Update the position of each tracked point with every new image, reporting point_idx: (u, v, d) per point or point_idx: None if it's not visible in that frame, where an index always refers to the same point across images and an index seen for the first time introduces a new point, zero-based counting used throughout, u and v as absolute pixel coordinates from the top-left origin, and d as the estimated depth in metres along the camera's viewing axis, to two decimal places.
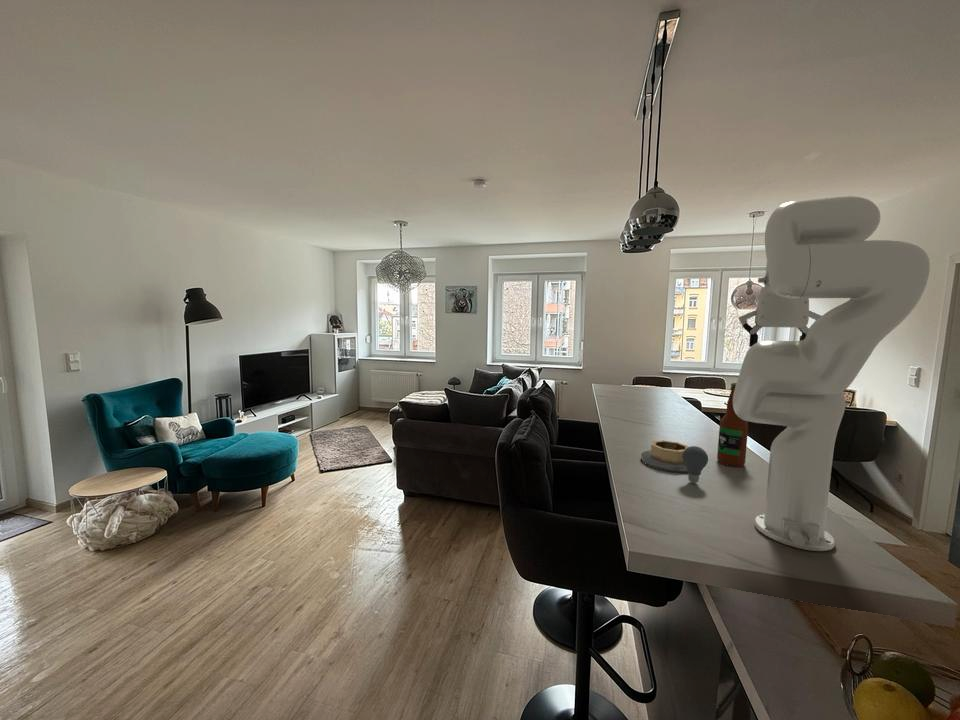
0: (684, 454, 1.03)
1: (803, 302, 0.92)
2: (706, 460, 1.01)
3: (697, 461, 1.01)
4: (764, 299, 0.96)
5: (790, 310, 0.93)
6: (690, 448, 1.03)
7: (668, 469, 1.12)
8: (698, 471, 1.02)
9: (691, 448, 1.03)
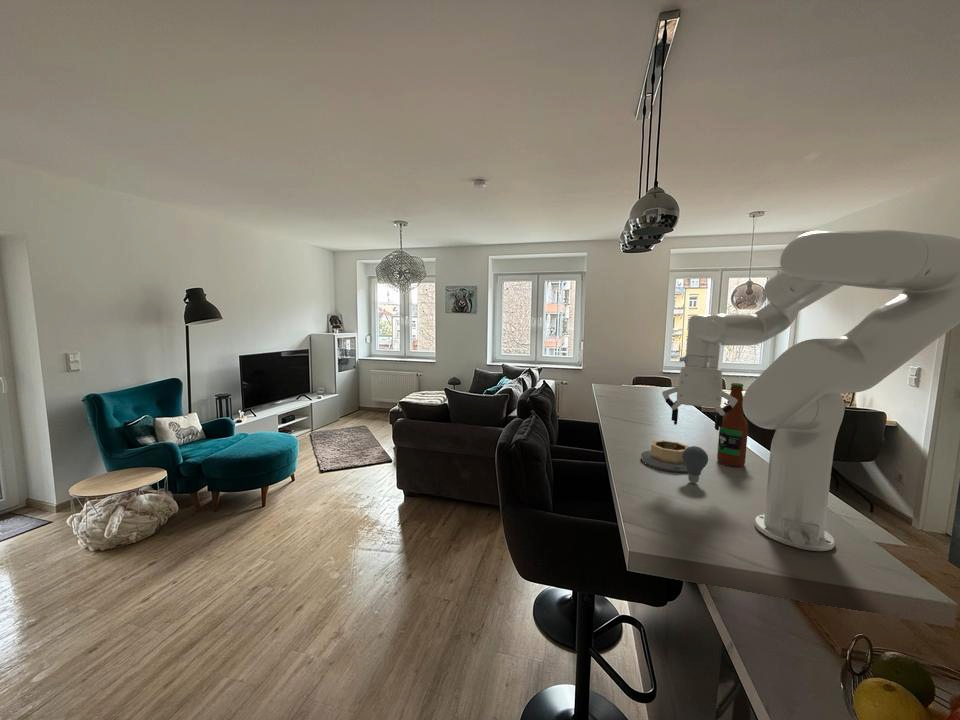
0: (684, 454, 1.03)
1: (716, 385, 0.98)
2: (706, 460, 1.01)
3: (697, 461, 1.01)
4: (683, 379, 1.01)
5: (705, 391, 0.99)
6: (690, 448, 1.03)
7: (668, 469, 1.12)
8: (698, 471, 1.02)
9: (691, 448, 1.03)
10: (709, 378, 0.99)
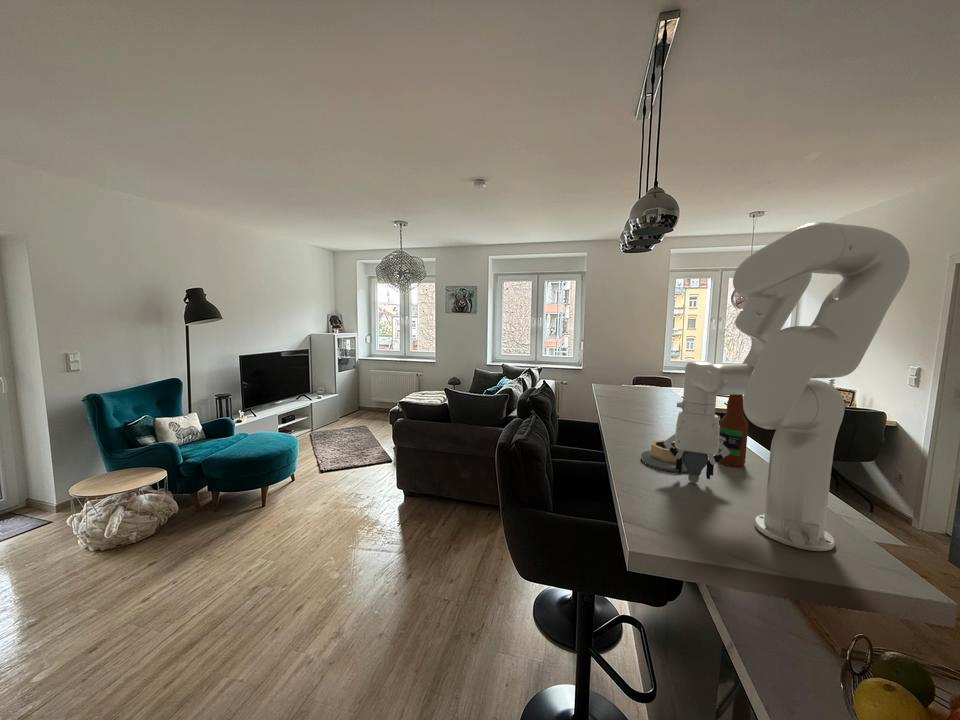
0: (684, 454, 1.03)
1: (714, 432, 0.99)
2: (706, 460, 1.01)
3: (697, 461, 1.01)
4: (680, 425, 1.02)
5: (702, 438, 1.00)
6: None
7: (668, 469, 1.12)
8: (698, 471, 1.02)
9: None
10: (706, 425, 0.99)
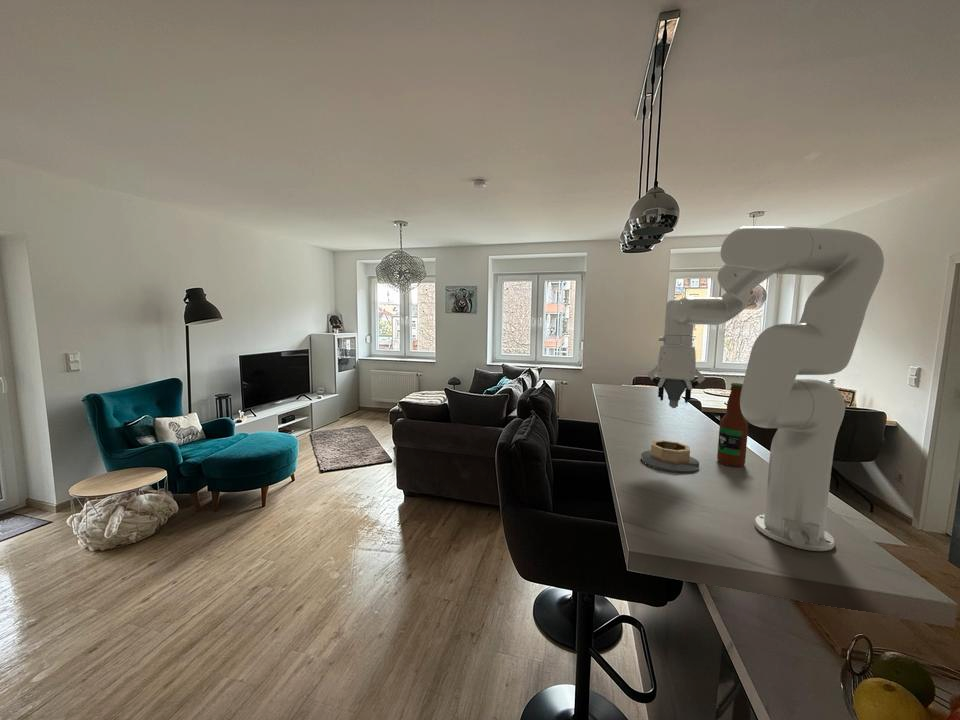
0: (665, 382, 1.17)
1: (690, 360, 1.12)
2: (684, 386, 1.14)
3: (676, 386, 1.14)
4: (662, 356, 1.16)
5: (681, 366, 1.13)
6: None
7: (668, 469, 1.12)
8: (677, 396, 1.15)
9: None
10: (684, 354, 1.13)
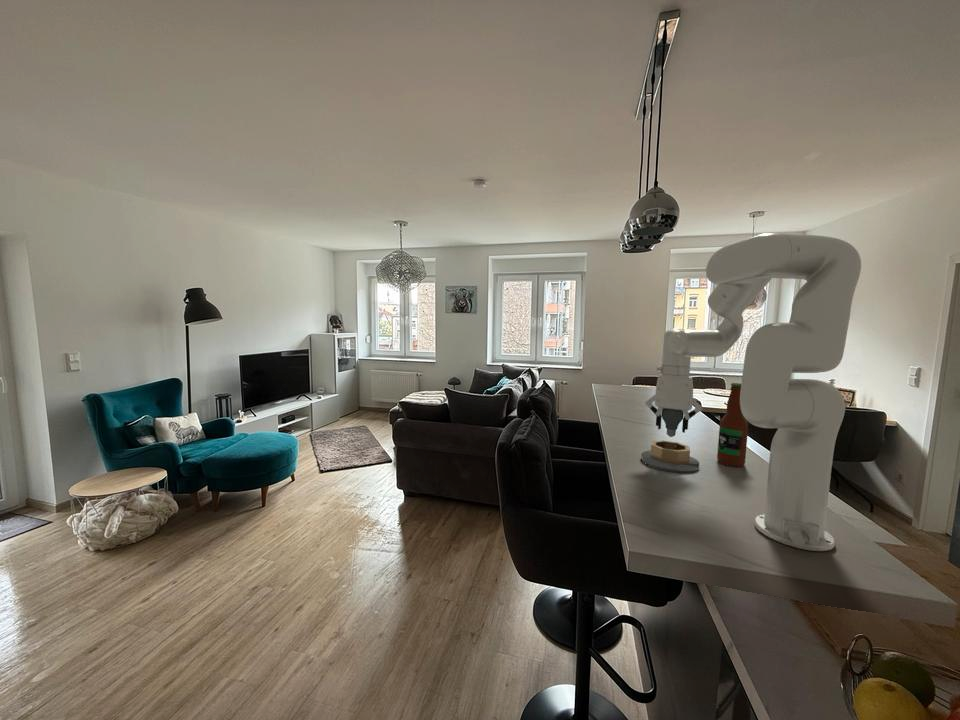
0: (663, 411, 1.18)
1: (688, 391, 1.13)
2: (681, 416, 1.16)
3: (674, 416, 1.15)
4: (659, 386, 1.17)
5: (678, 396, 1.14)
6: None
7: (668, 469, 1.12)
8: (675, 425, 1.17)
9: None
10: (681, 385, 1.14)
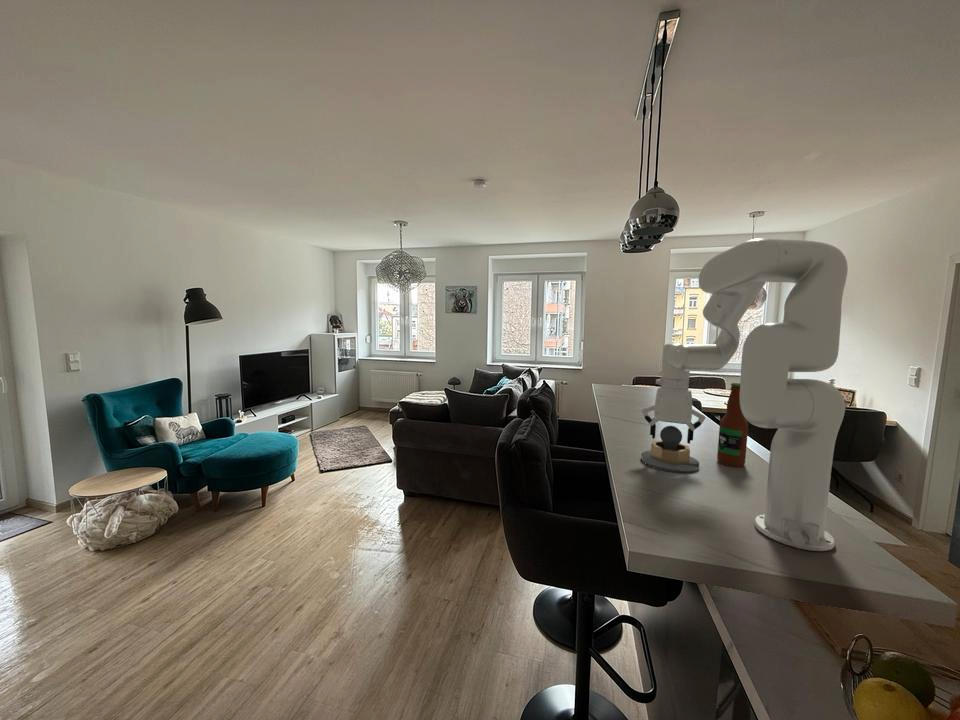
0: (661, 432, 1.19)
1: (687, 404, 1.14)
2: (680, 437, 1.16)
3: (672, 437, 1.16)
4: (658, 399, 1.17)
5: (677, 410, 1.15)
6: (666, 427, 1.18)
7: (668, 469, 1.12)
8: (674, 447, 1.17)
9: (667, 427, 1.18)
10: (681, 398, 1.14)
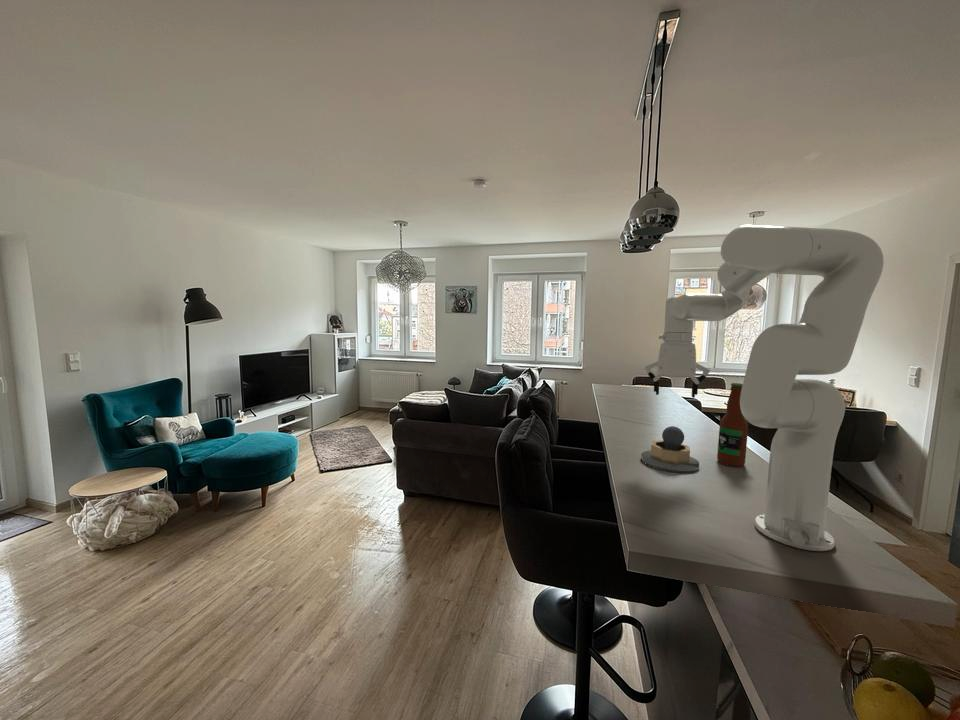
0: (664, 433, 1.18)
1: (691, 357, 1.12)
2: (682, 438, 1.16)
3: (674, 439, 1.15)
4: (662, 353, 1.16)
5: (681, 363, 1.13)
6: (669, 428, 1.18)
7: (668, 469, 1.12)
8: (675, 448, 1.17)
9: (670, 428, 1.17)
10: (684, 351, 1.13)
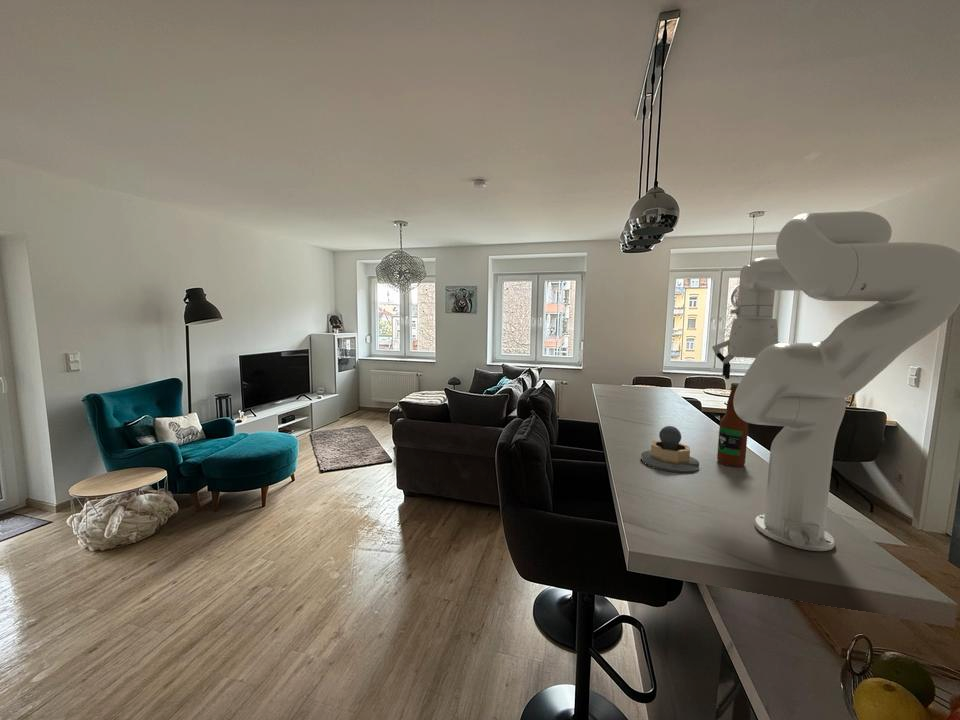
0: (660, 433, 1.18)
1: (772, 334, 0.95)
2: (679, 437, 1.16)
3: (671, 438, 1.16)
4: (736, 330, 0.99)
5: (760, 342, 0.96)
6: (665, 428, 1.18)
7: (668, 469, 1.12)
8: (673, 447, 1.17)
9: (666, 427, 1.18)
10: (764, 328, 0.96)
